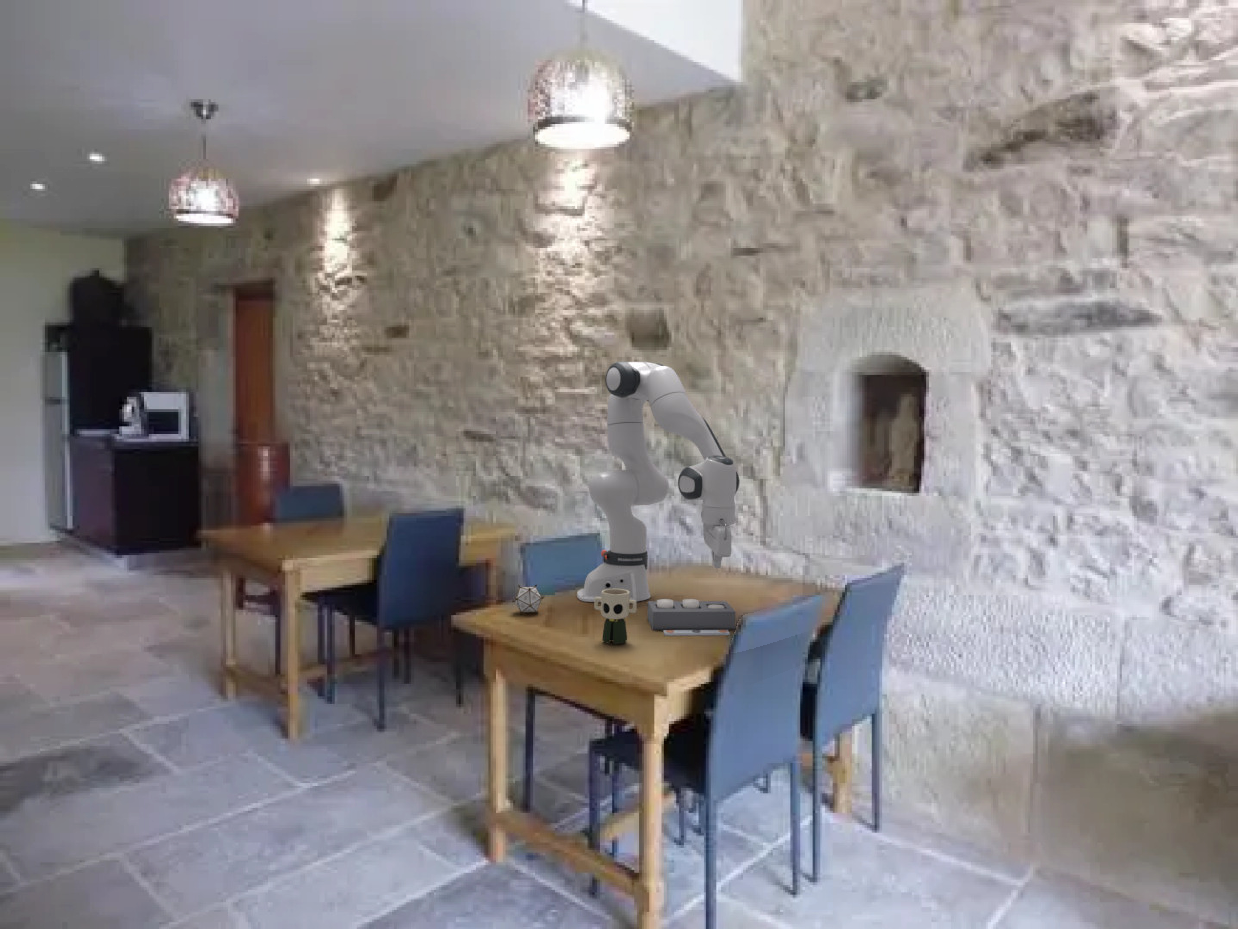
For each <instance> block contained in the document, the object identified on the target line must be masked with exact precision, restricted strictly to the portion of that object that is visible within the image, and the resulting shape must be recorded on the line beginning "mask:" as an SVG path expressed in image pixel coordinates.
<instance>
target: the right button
mask: <svg viewBox="0 0 1238 929" xmlns="http://www.w3.org/2000/svg"><path fill="white" fill-rule="evenodd" d="M708 608H724V606H723V605H709V606H708Z"/></svg>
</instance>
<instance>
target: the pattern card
mask: <svg viewBox="0 0 1238 929" xmlns="http://www.w3.org/2000/svg"><path fill="white" fill-rule="evenodd" d="M662 631H663V632H662V633H663V635H664V636H665V637H666V636H667V637H668V636H670V637H671V636H672V637H673V636H680V637H681V636H730V634H731V633H730V630H662Z"/></svg>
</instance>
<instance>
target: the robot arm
mask: <svg viewBox="0 0 1238 929" xmlns="http://www.w3.org/2000/svg"><path fill="white" fill-rule="evenodd" d="M604 381H605V386H606V389H607V391H608V392H609V397H608V403H607V413H606V414H607V415H606V417H607V419H606V421H607V422H606V423H607V438H608V439H607V442H608V450H609V451H610V453H611V454H612V455H613V456H614V457H616V458H619V459H620V460H621V461H622V462H623V464H624V467H625V469H617V470H607V471H602V472H598V473H595V474H594V475H593V476H592V477H591V479H590V482H589V485H588V492H589V496H590V499H591V500H592V501H593V503H594V504H595V505H596V506H598V507H599V508H600V509H601V510H602V511H603V513H604V514H605V516H606V518H607V522H608V526H609V527H608V528H609V548H610V549H609V550H608V551H607V550H606V549H602V551H601V553H600V554H601V556H602V559H603V560H602V561H603V562H602V563H601V564H600V565H598V566H597V567H596V568H595V569H593V570H592V571H590V572H589V573H588V574H587V576H586V578H585V581H584V587H583V588H580V589H579V590H577V593H576V597H577V599H579V600H580V601H582V602H589V603H594V599H595V597H601V593H602V590H605V589H625V590H628V591H629V592H630V600H636V602H640V601H645V600H646V601H647V600H649V599H650V598H651V597H652V596H651V593H650V588H649V583H648V582H649V581H648V574H647V573H648V572H647V570H648V564H649V554H648V551H647V526H646V525H645V523H644V522H643V521H642V520H640V519H639V518H637V517H635V516H634V515H633V512H632V506H633V507H634V506H635V507H636V506H649V505H654V504H657V503H660V502H663V501H665V500H666V497H667V495H668V493H669V489H670V488H669V487H670V486H669V481H668V479H667V477H666V475H665V473H664V472H662V471H661V470H659V469H658V468H657V467H656V465H655V464H654V463H653V462H652V459H651V458H650V456H649V453H648V450H647V446H646V438H645V428H644V427H645V426H644V415H643V414H644V413H643V410H644V409H643V408H644V405H645V404H646V402H648V404H649V406H650V410H651V412H652V415H653V418H654V420H655V421H656V422H655V423H657V425H658V427H659V428H661V429H662V430H664V431H666V432H668V433H670V434H672V435H673V434H674V435H676V436H680V437H682V438H684V439H686V440H689V441H690V442H692V443H693V444H694V445H695V446H696V447H697V449H698V451H699V453H700V454H701V457H702V458H703V461H702V462H699V463H697V464H694V465H691V466H686V467H684V468H683V469H682V470H681V471H680V473H679V475H678V480H677V486H678V488H677V489H678V491H679V493H680V494H681V496H682V497H683V498H684V499H686V500H690V501H702V507H701V508H702V510H701V523H703V524H702V526H703V528H702V529H703V541H704V544H705V545H706V546H707V547H708V548H709V549H710V552H711V557H712V558H711V560H712V564H711V565H712V566H713V568H715V569H720V568H721V567H722V560H723V558H730V557H731V555H732V529H731V528H730V527H731V526H732V525H734V524H736V502H735V496H736V494H737V492H738V491H739V487H740V481H741V480H740V476H739V473H738V470H736V469H737V468H736V465H735V461H734V460H733V459H731V458H729V457H727V456H726V455H725V453H724V450H723V448H722V447H721V444H720V442H719V441H718V440H717V438H716V435H715V434H714V431H713V430H712V428H711V427H710V424H709V423H708V422H707V420H706V419H705V418H704V417H702V416H701V415H700V414H699V412H698V411H697V409H695V407H694V406H693V405H692V402H691V401H690V399H689V397H688V395H687V394H688V393H687V391H686V390H685V387H684V385H683V383H682V381H681V379H680V378H679V376H678V375H677V373H676V371H675V369H673V368H672V367H670V366H667V365H664V364H662V363H654V362H648V361H624V360H623V361H618V362H614V363H612V364H611V365H610V366H609V367H608V368H607V371H606V373H605V380H604ZM598 603H601V601H598Z"/></svg>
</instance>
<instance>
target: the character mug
mask: <svg viewBox="0 0 1238 929" xmlns="http://www.w3.org/2000/svg"><path fill="white" fill-rule="evenodd" d="M598 601H601V602H600V605H599V602H598ZM637 602H638V601H637ZM637 602H636V600H630V592H629V591H628V590H625V589H605V590H602V593H601V597H595V599H594V602H593V603H594V610H597V611H600V614H601V617H603V618H605V620H604V624H603V630H602V638H601V640H602V641H603V642H604V643H607V644H610V643H611V642H612V643H613V645H614V644H615V645H616V644H617V645H618V644H619V645H620V644H624V643H626V641H627V640H628V635H627V634H628V633H627V625H626V618H628V617H629V614H630V613H632V614H636V612H637V604H638V603H637ZM630 604H632V608H630Z"/></svg>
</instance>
